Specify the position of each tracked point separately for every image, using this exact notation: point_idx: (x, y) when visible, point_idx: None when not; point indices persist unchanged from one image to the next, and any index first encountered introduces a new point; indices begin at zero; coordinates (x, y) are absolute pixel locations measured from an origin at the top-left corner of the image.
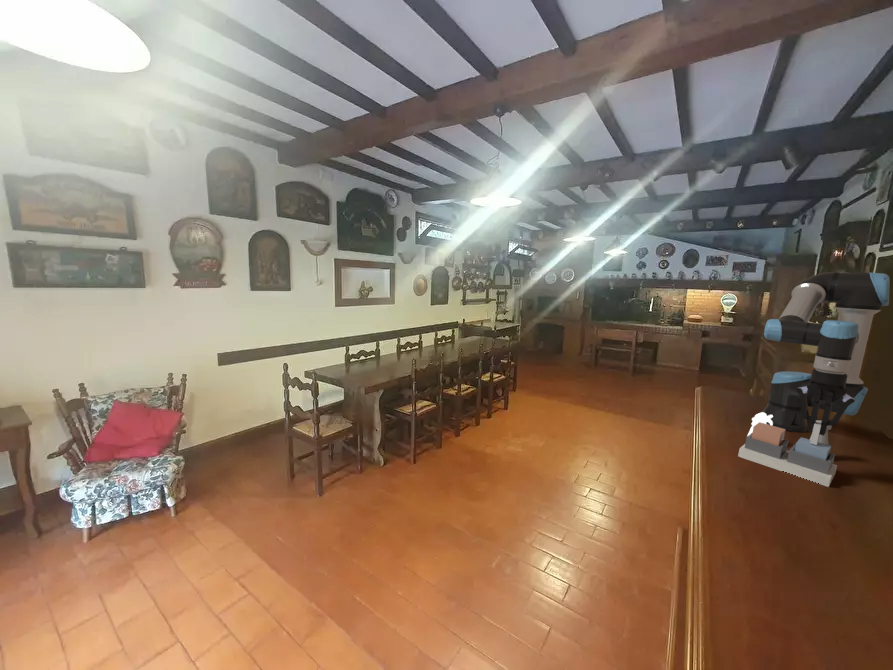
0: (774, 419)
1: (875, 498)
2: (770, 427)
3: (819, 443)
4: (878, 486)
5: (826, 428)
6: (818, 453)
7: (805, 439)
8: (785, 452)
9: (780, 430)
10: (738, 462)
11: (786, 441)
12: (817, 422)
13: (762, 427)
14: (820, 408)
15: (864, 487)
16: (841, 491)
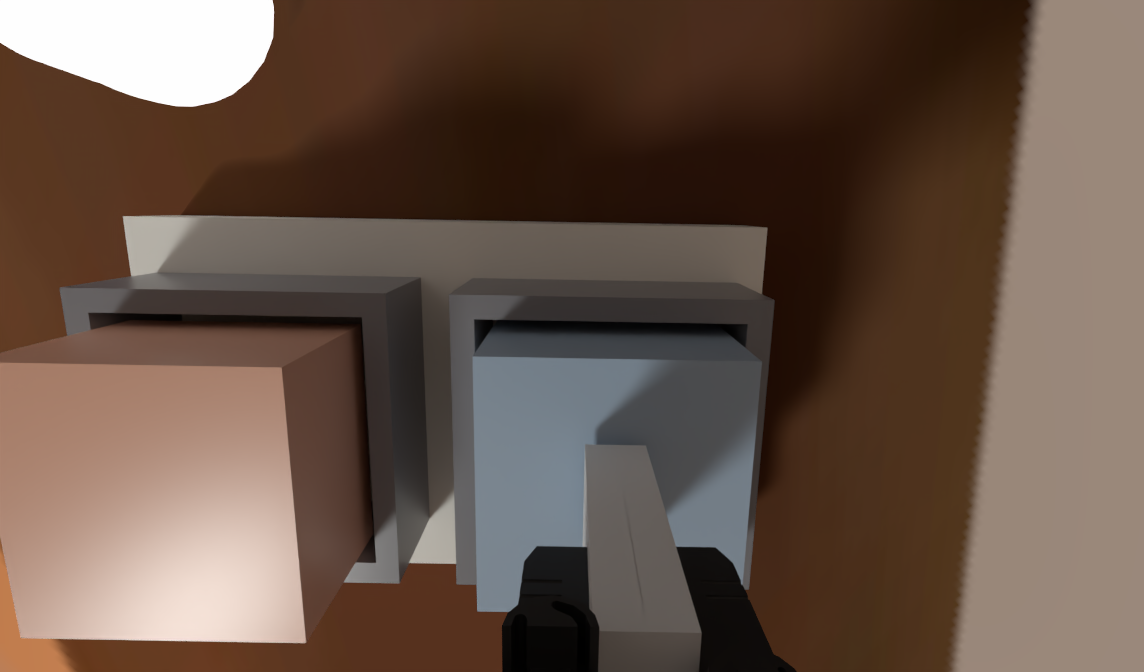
0: None
1: (937, 454)
2: (143, 476)
3: (655, 406)
4: (977, 198)
5: (758, 641)
6: None
7: (523, 400)
8: (421, 304)
9: (258, 487)
10: None
11: (378, 339)
12: (621, 646)
13: (90, 574)
14: None
15: (897, 315)
16: (780, 524)
